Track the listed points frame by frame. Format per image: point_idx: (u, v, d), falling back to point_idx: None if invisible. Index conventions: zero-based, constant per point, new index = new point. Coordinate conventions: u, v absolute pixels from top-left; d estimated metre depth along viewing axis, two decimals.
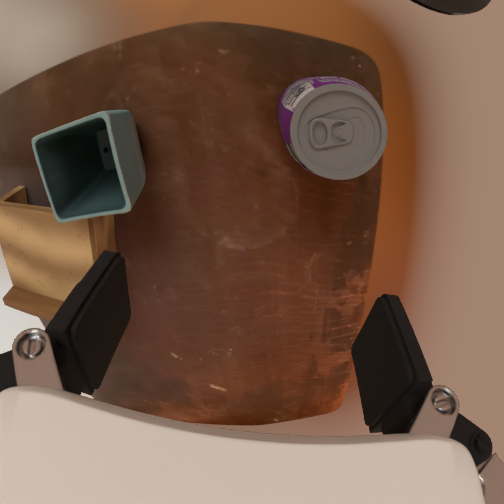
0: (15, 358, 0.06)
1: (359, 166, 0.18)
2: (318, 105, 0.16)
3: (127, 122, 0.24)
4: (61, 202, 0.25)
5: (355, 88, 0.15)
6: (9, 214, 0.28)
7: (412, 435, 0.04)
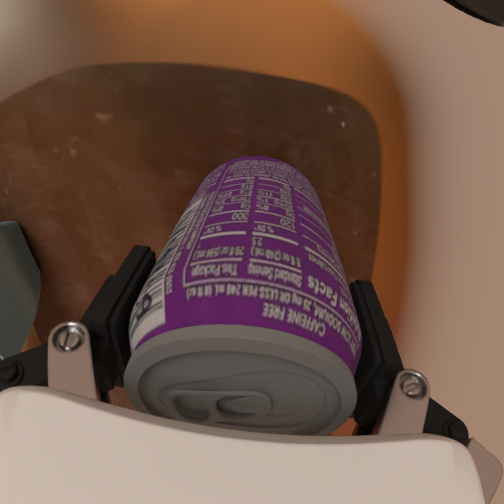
0: (52, 351, 0.06)
1: None
2: (176, 367, 0.07)
3: None
4: None
5: (271, 345, 0.06)
6: None
7: (411, 435, 0.04)
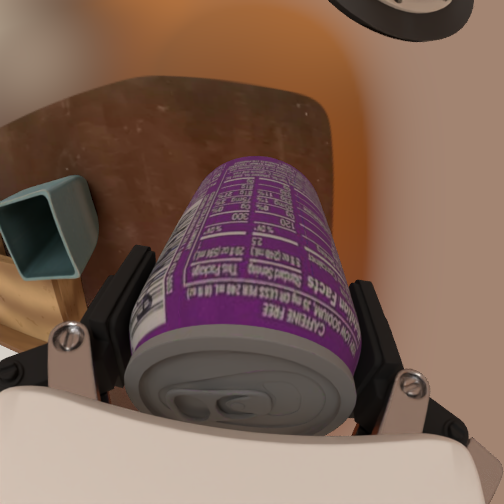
0: (52, 351, 0.06)
1: None
2: (176, 366, 0.07)
3: (72, 190, 0.24)
4: (24, 261, 0.26)
5: (271, 344, 0.06)
6: None
7: (411, 435, 0.04)
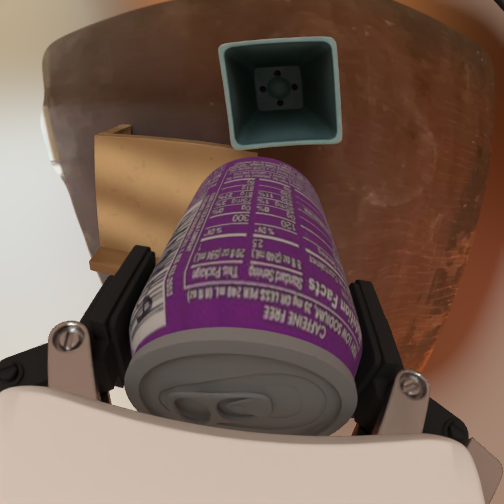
0: (53, 351, 0.06)
1: None
2: (176, 369, 0.07)
3: None
4: (236, 127, 0.23)
5: (272, 347, 0.06)
6: (126, 147, 0.26)
7: (412, 435, 0.04)
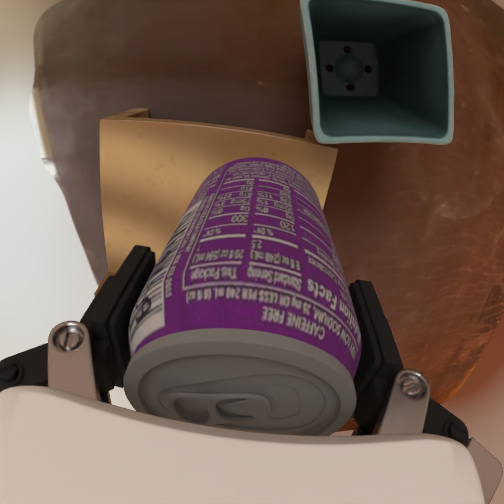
0: (52, 351, 0.06)
1: None
2: (175, 370, 0.07)
3: None
4: None
5: (271, 349, 0.06)
6: (146, 135, 0.18)
7: (411, 435, 0.04)
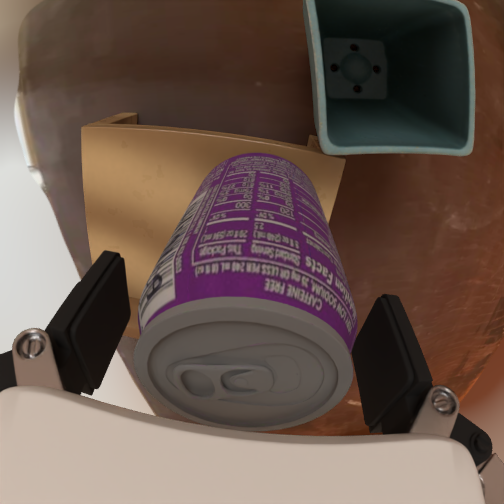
0: (15, 358, 0.06)
1: (287, 415, 0.09)
2: (184, 341, 0.07)
3: None
4: None
5: (273, 314, 0.06)
6: (131, 144, 0.16)
7: (411, 435, 0.04)
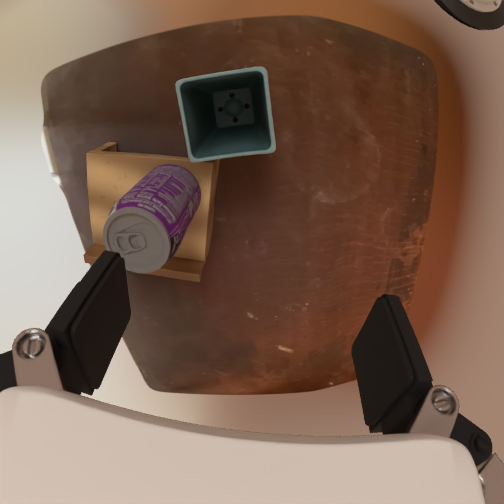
0: (15, 358, 0.06)
1: (155, 263, 0.25)
2: (117, 224, 0.24)
3: None
4: (193, 144, 0.30)
5: (136, 210, 0.23)
6: (111, 162, 0.33)
7: (411, 435, 0.04)
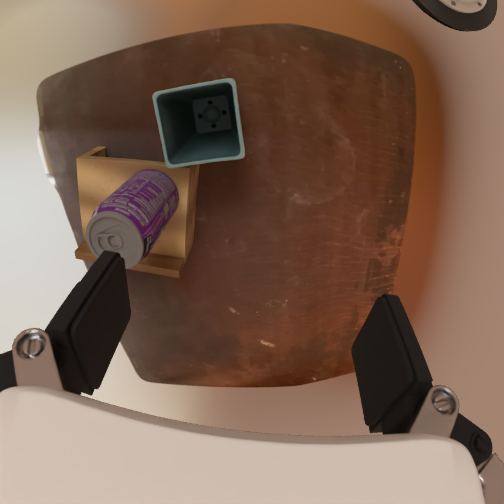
0: (15, 358, 0.06)
1: (131, 260, 0.28)
2: (98, 226, 0.26)
3: None
4: (170, 151, 0.32)
5: (113, 214, 0.25)
6: (99, 166, 0.35)
7: (411, 435, 0.04)
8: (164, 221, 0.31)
